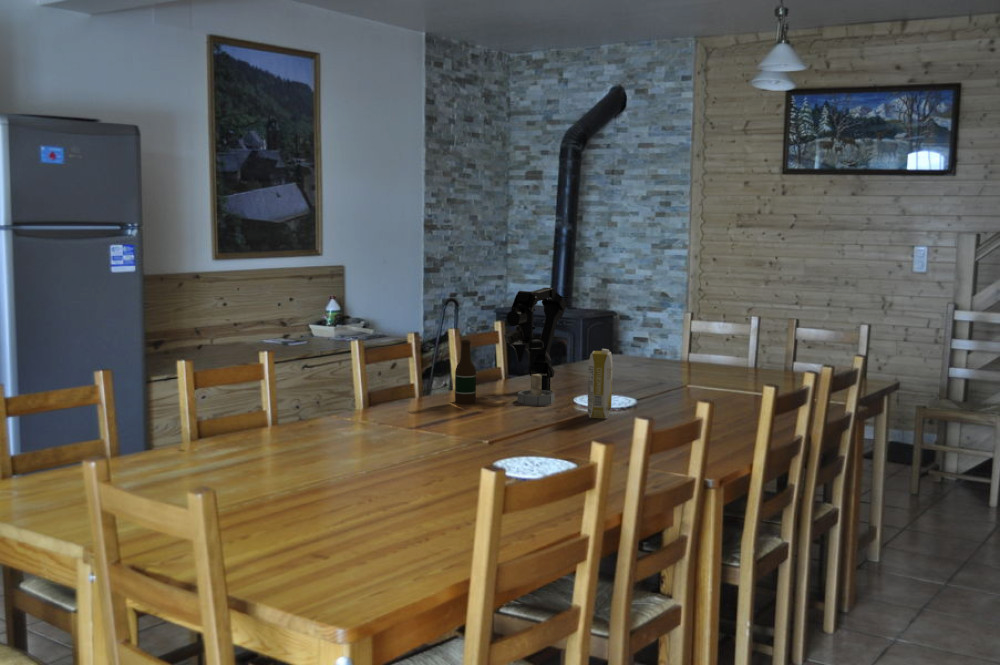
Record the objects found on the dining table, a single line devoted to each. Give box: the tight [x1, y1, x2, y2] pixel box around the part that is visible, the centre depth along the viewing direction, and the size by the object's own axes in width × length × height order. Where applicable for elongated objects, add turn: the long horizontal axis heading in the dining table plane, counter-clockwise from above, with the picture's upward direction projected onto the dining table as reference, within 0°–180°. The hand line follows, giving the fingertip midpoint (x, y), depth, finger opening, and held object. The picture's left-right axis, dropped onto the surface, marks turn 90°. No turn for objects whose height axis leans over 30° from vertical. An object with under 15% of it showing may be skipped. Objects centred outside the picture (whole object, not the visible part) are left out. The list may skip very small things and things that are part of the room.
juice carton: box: [587, 348, 614, 420], centre depth 346 cm, size 9×8×24 cm
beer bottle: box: [454, 339, 477, 405], centre depth 366 cm, size 8×8×24 cm
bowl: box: [517, 389, 556, 408], centre depth 370 cm, size 13×13×4 cm
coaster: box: [482, 395, 514, 402], centre depth 376 cm, size 9×9×1 cm
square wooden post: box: [530, 374, 542, 396], centre depth 370 cm, size 3×3×10 cm
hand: (525, 363), depth 381 cm, fingers open, 9 cm apart
